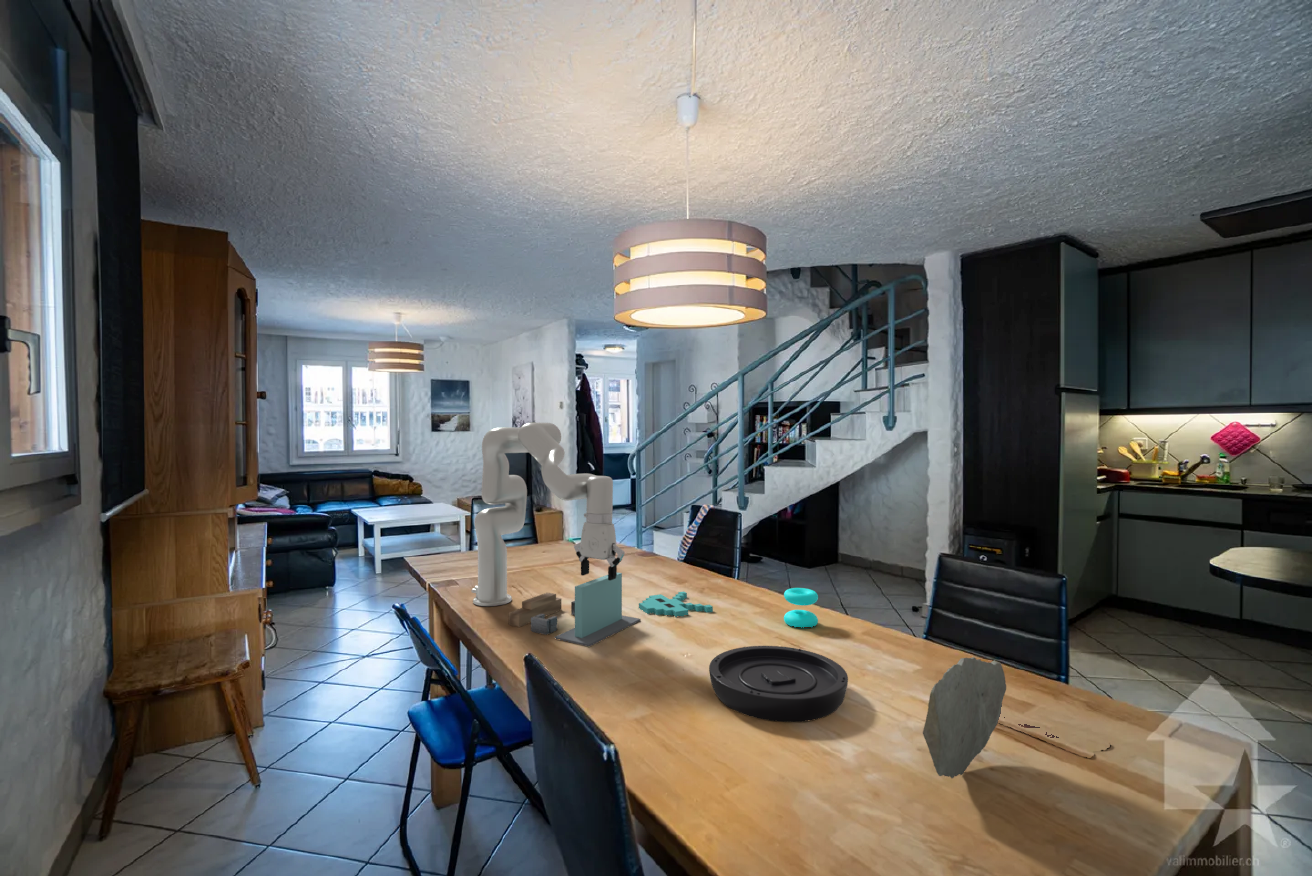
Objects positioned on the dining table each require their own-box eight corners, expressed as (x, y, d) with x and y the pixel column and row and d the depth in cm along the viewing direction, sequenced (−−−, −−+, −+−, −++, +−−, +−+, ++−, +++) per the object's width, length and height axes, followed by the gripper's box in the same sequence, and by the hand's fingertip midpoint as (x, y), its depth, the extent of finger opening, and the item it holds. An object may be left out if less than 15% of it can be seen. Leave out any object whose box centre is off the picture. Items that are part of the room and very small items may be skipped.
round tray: (797, 661, 155) (688, 677, 145) (797, 638, 155) (688, 652, 144) (878, 713, 127) (749, 738, 116) (878, 684, 127) (749, 706, 116)
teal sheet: (574, 636, 170) (574, 586, 170) (614, 617, 188) (615, 572, 188) (581, 638, 169) (581, 587, 169) (621, 618, 186) (621, 573, 186)
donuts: (824, 591, 183) (805, 597, 177) (824, 624, 183) (805, 632, 177) (796, 585, 191) (777, 590, 184) (796, 617, 191) (777, 623, 184)
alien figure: (683, 597, 214) (631, 604, 206) (683, 591, 214) (631, 598, 206) (712, 613, 196) (656, 621, 188) (712, 606, 196) (656, 614, 187)
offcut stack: (508, 626, 182) (508, 606, 182) (551, 608, 200) (551, 590, 200) (519, 628, 180) (519, 607, 180) (561, 610, 198) (561, 592, 198)
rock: (971, 738, 116) (972, 633, 116) (1008, 750, 111) (1009, 641, 111) (913, 797, 97) (914, 672, 97) (954, 815, 93) (955, 684, 92)
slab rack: (530, 631, 176) (530, 617, 176) (580, 611, 196) (580, 598, 196) (546, 635, 174) (546, 620, 173) (595, 613, 194) (595, 601, 193)
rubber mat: (554, 638, 170) (554, 636, 170) (608, 614, 193) (608, 612, 193) (589, 646, 164) (589, 644, 164) (640, 620, 187) (640, 618, 187)
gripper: (567, 517, 179) (566, 575, 180) (616, 523, 170) (615, 584, 171) (583, 514, 186) (582, 570, 186) (631, 519, 177) (630, 578, 177)
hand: (598, 577), depth 178 cm, fingers open, 9 cm apart
